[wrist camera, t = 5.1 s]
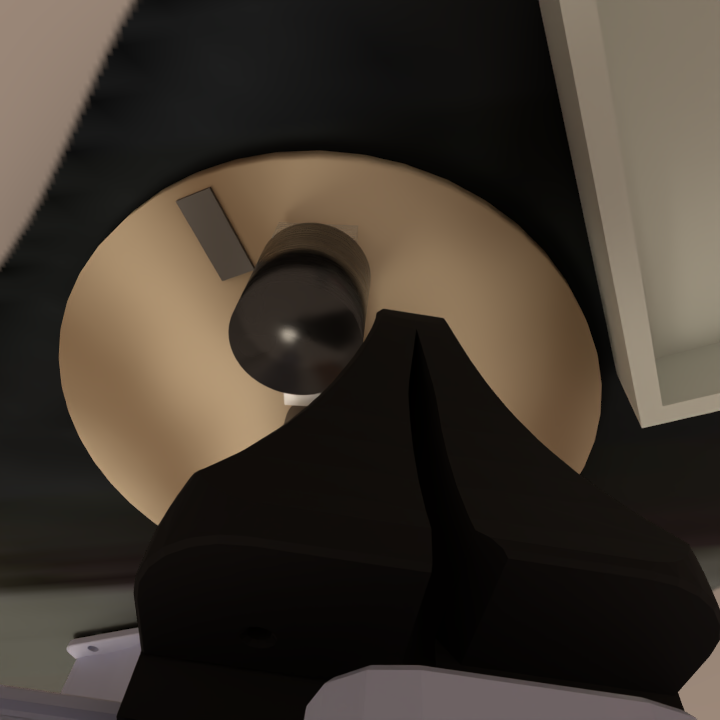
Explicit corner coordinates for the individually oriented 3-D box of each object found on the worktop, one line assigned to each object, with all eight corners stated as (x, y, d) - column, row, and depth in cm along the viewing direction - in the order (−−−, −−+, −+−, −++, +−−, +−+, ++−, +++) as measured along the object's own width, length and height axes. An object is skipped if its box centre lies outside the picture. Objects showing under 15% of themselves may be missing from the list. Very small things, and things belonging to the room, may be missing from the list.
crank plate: (230, 598, 27) (216, 651, 25) (-45, 272, 18) (-101, 313, 16) (633, 523, 22) (654, 580, 20) (521, 36, 13) (540, 54, 12)
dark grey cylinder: (369, 572, 23) (362, 673, 20) (286, 566, 23) (266, 666, 20) (382, 211, 15) (373, 286, 12) (253, 206, 15) (210, 278, 12)
